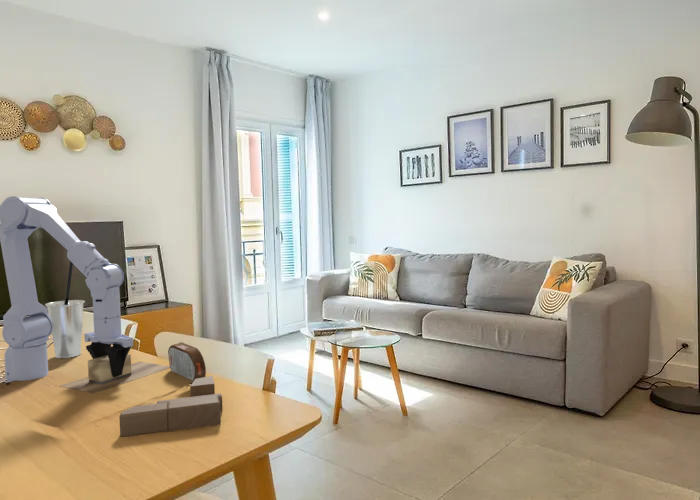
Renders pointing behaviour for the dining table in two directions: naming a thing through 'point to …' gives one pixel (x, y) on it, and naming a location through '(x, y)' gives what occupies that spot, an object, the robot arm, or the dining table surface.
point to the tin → (186, 361)
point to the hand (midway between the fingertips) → (109, 374)
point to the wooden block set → (175, 412)
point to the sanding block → (106, 370)
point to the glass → (66, 323)
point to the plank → (137, 372)
